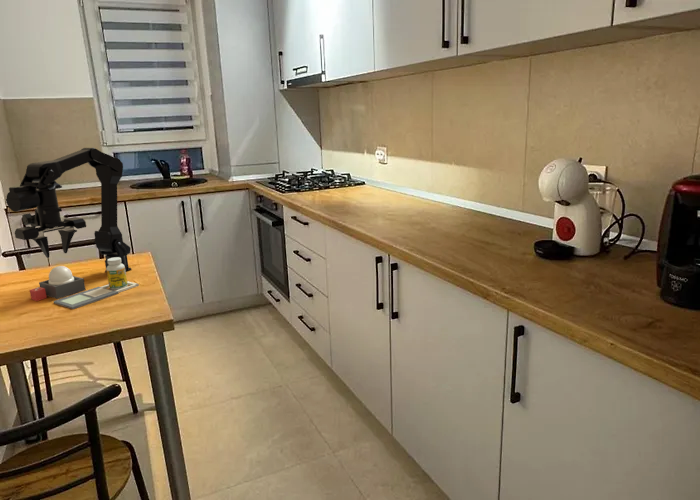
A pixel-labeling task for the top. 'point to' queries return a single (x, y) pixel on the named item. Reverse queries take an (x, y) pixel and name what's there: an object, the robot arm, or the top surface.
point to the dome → (60, 276)
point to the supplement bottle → (116, 274)
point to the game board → (91, 296)
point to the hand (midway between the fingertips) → (56, 255)
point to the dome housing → (57, 289)
